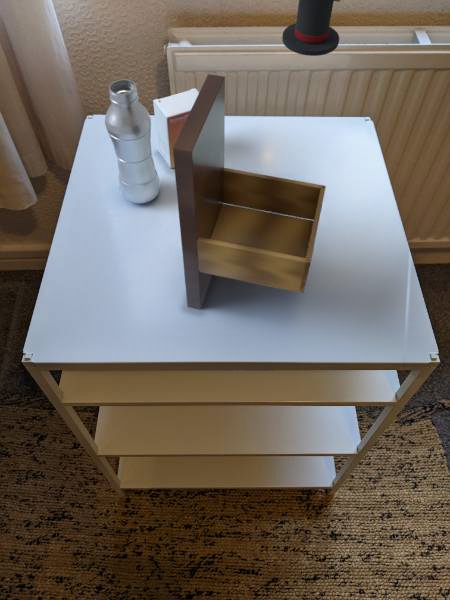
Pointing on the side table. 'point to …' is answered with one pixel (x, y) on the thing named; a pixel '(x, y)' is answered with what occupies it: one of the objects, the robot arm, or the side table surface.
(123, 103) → the plastic bottle
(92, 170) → the side table surface
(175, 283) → the side table surface
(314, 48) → the hat
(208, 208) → the wooden drawer
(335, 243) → the side table surface
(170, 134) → the small box
